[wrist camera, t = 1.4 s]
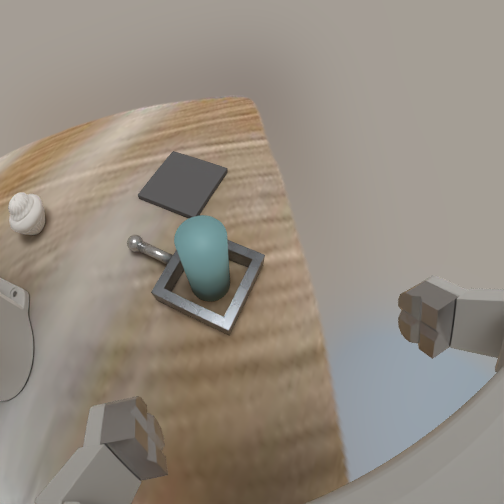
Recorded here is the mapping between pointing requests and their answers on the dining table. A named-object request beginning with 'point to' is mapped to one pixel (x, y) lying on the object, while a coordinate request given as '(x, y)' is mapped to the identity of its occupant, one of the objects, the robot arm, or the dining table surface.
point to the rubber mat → (183, 184)
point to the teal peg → (204, 256)
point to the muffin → (26, 213)
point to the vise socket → (189, 308)
